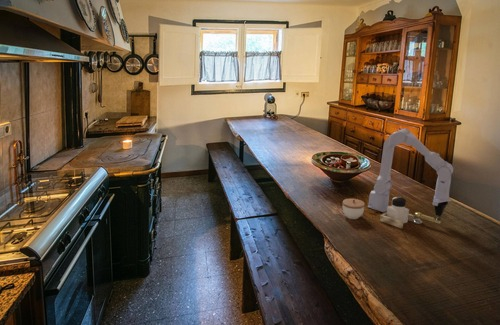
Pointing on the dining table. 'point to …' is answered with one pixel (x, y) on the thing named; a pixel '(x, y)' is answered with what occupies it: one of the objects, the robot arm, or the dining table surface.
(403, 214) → the medicine bottle
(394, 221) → the cradle
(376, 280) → the dining table surface
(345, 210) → the lidded jar
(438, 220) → the brass drawer handle
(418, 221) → the pivot post
